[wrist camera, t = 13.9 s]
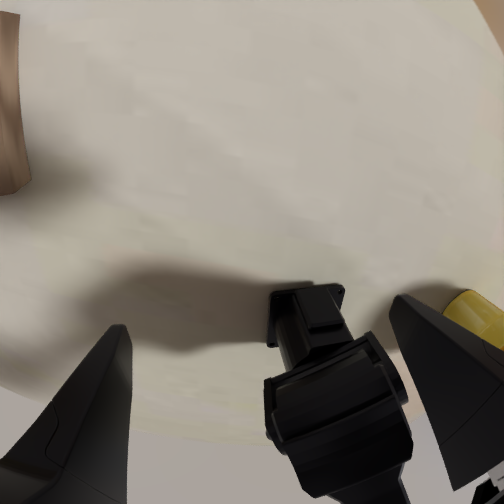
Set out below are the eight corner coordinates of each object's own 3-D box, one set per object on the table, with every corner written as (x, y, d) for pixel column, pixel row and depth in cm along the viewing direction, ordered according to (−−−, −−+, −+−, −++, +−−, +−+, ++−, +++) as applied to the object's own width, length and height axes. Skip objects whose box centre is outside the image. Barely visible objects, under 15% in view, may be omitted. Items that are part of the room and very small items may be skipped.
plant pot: (414, 345, 34) (449, 404, 26) (448, 281, 28) (499, 342, 20) (463, 332, 35) (497, 379, 27) (495, 274, 30) (539, 322, 22)
